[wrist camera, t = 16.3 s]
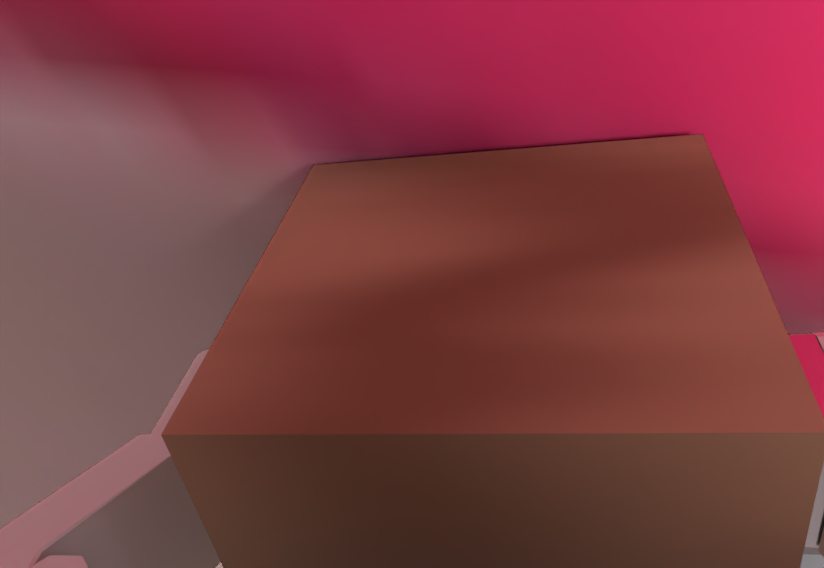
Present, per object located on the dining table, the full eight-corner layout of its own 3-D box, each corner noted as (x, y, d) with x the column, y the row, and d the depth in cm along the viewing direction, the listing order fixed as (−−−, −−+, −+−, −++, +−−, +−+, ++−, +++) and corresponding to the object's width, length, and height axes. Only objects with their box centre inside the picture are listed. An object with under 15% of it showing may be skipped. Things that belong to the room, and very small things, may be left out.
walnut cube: (703, 134, 9) (829, 432, 5) (682, 427, 12) (754, 772, 8) (313, 165, 10) (160, 434, 6) (378, 428, 13) (302, 734, 9)
